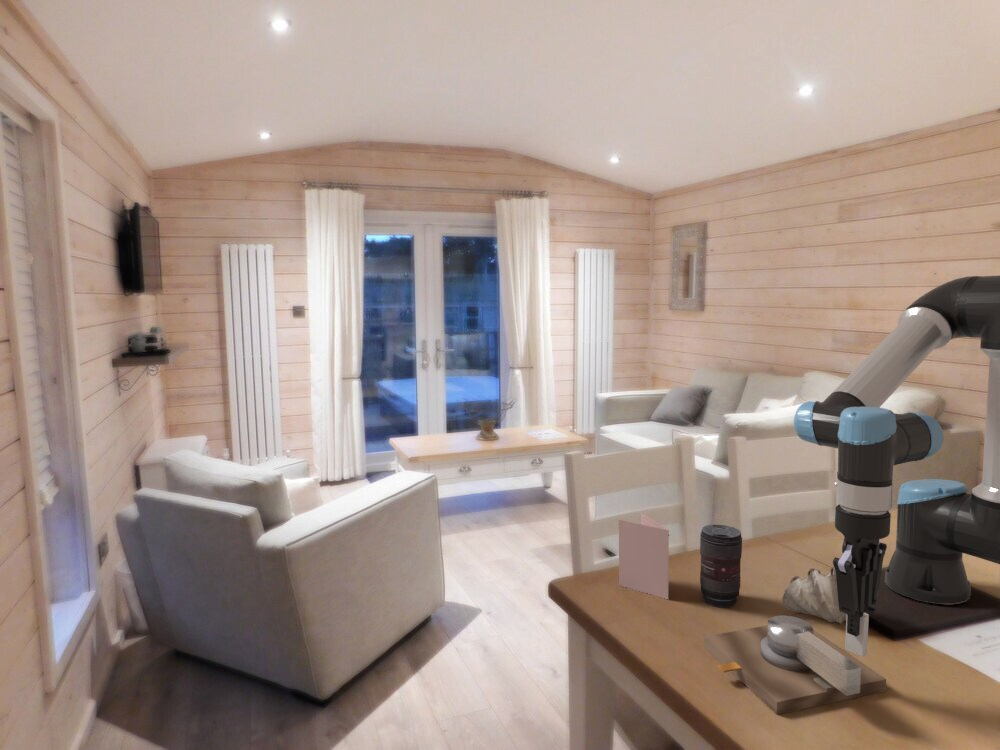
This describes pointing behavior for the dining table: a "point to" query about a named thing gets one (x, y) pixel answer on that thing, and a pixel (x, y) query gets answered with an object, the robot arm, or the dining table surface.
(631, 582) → the greeting card
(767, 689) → the mount
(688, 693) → the dining table surface
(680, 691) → the dining table surface
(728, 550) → the camera lens
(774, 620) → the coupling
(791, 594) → the seashell
